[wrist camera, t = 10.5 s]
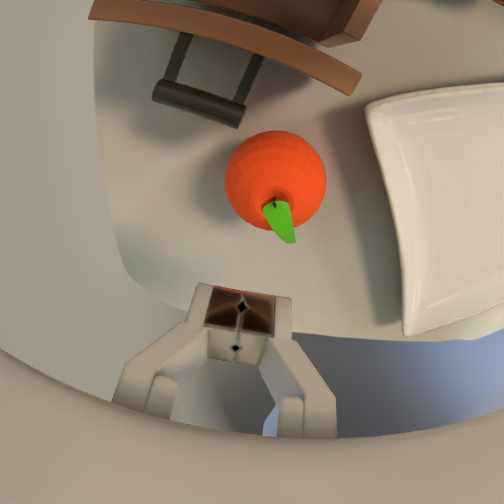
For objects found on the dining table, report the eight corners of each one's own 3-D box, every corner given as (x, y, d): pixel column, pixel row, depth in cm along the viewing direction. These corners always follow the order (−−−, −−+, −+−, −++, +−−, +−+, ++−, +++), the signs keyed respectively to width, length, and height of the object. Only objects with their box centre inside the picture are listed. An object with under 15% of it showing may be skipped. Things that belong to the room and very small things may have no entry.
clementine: (332, 199, 23) (347, 251, 18) (256, 219, 25) (248, 274, 20) (304, 110, 19) (315, 133, 13) (219, 138, 21) (194, 174, 15)
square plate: (556, 71, 9) (580, 80, 6) (543, 259, 23) (555, 277, 20) (349, 97, 18) (363, 106, 15) (396, 318, 32) (403, 343, 29)
